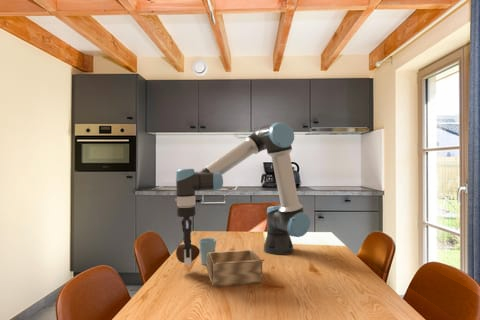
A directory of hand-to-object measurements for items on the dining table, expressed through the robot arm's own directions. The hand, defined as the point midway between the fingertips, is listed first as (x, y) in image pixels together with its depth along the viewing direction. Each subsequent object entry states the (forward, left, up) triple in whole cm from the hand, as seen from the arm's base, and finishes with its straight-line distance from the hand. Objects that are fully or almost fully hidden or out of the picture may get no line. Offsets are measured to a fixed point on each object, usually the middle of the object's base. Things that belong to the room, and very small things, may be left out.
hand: (187, 261), depth 128 cm
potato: (0, 0, -1) cm, 1 cm away
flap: (-17, +18, +4) cm, 25 cm away
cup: (-9, -11, -5) cm, 15 cm away
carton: (-17, +9, -4) cm, 20 cm away
